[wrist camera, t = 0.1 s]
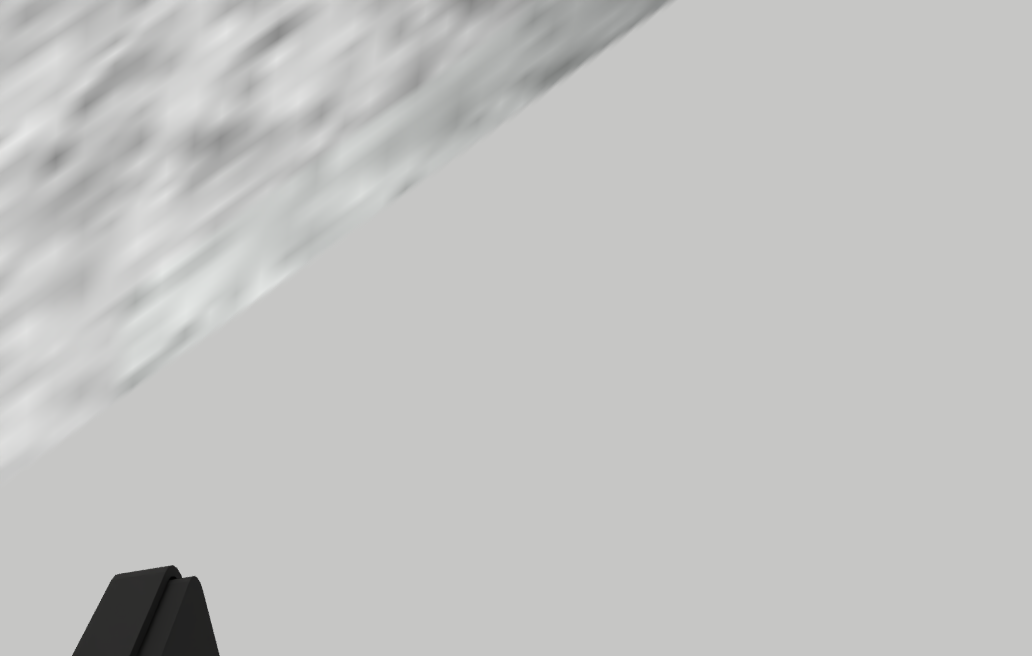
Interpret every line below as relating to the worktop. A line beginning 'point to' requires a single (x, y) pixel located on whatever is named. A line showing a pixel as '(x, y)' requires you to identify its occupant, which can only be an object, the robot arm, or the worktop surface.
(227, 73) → the worktop surface
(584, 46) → the worktop surface
